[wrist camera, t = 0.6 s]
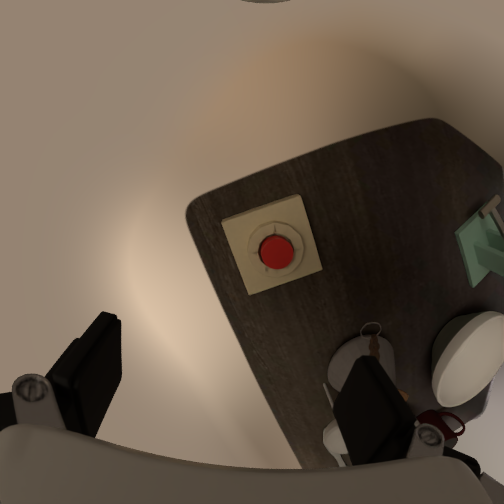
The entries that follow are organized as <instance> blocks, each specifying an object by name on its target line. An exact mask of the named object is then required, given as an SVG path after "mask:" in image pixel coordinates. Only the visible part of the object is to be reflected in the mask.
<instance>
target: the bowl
mask: <svg viewBox="0 0 504 504" xmlns="http://www.w3.org/2000/svg"><path fill="white" fill-rule="evenodd" d="M503 362H504V315H503V314H501V313H498V312H495V311H487V312H480V313H472V314H468V315H461V316H458V317H456V318H454V319H452V320H451V321H450V322H448V323H447V324H446V325H445V326H444V328H443V329H442V330H441V331H440V333H439V334H438V336H437V338H436V339H435V342H434V344H433V347H432V364H431V371H432V374H431V375H432V389H433V392H434V394H435V397H436V399H437V401H438V402H439V403H440V404H441V405H442V406H444V407H454V406H458V405H460V404H462V403H465V402H466V401H468V400H470V399H471V398H473V397H474V396H475V395H477V394H478V393H479V392H480V391H481V390H482V389H483V388H484V387H485V386H486V385H487V384H488V383H489V382H490V381H491V380H492V379H493V377H494V376H495V375H496V373H497V372H498V370H499V369H500V367H501V366H502V364H503Z"/></svg>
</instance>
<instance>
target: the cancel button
mask: <svg viewBox="0 0 504 504" xmlns="http://www.w3.org/2000/svg"><path fill="white" fill-rule="evenodd" d="M260 252H261V256H262V260H263V262H264V263H265V265H266V266H268V267H269V268H272V269H282V268H285V267H286V266H288V265H289V264H290V262H291V261H292V258H293V248H292V246H291V245H290V243H289V242H288V240H287V239H285V238H284V237H282V236H278V235H274V236H270V237H268V238H267V239H266V240H265V241H264V242H263V243H262V245H261V250H260Z"/></svg>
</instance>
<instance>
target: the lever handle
mask: <svg viewBox="0 0 504 504" xmlns="http://www.w3.org/2000/svg"><path fill="white" fill-rule="evenodd" d="M500 201H501V199H500V197H499V196H498V195H497V194H495V195H494V196H493V197H492V198H491V199H490V200H489V201H488V202H487V203H486V204H485V205H484V206H483V207H482V208H481V209H480V210H479V211H478V215H479V217H480V218H481V219H484V218H485V217H486V216H487V215H488V214H490V216H491V218H492V220H493V221H494V223H495V225H496V227H497V229H498V231H499V233H500V235H501V236H502V238H503V240H504V223H503V221H502V219H501V217H500V215H499V214H498V212H497V210H496V208H495V207H496V206H497V205H498V204H499V202H500Z"/></svg>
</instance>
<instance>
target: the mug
mask: <svg viewBox="0 0 504 504" xmlns="http://www.w3.org/2000/svg"><path fill="white" fill-rule="evenodd" d="M444 415H446V416H451V417H453V418H455V419H456V420H458V421H459V422H460V423H461V425H462V426H463V429H462V430H461V431H460V432H458V433H455V432H453V431H452V430H451V429H450V428H449V427H448V425H447V424H446V423H445V422H444V421H443V420H442V418H441V416H444ZM417 420H418V421H419V423H420V424H422V423H427V424H431V425H433V426H435V427H437V428H438V429H439V430H440V431H441V432H442V433H443V436H444V446H447V447H449V448H451V449H452V448H453V447H454V446H455V445H456V443H457V441H458V438H457V436H460V435H462V434H463V433H464V431H465V425H464V423H463V422H462V420H461V419H460V418H459V417H457V416H456V415H454V414H452V413H449V412H440V413H436V412H435V411H434V410H428V411H426V412H424V413H422V414H420V415H419V416H418V417H417Z"/></svg>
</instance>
